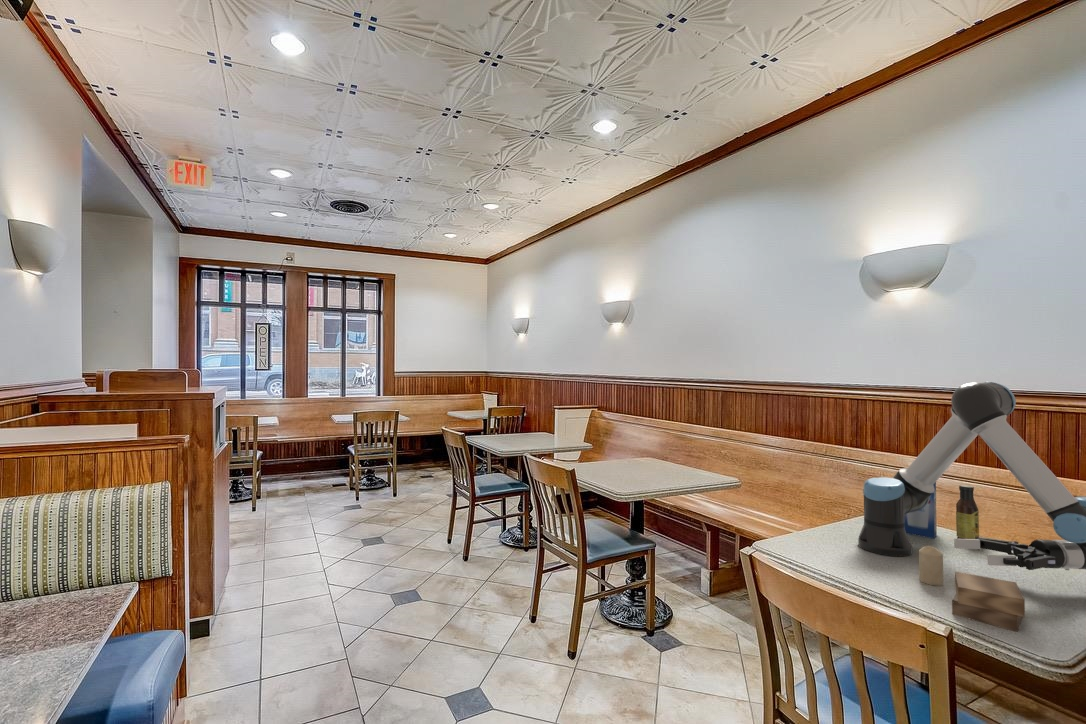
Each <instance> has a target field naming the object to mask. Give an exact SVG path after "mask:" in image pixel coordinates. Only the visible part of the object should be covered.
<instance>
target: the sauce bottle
mask: <svg viewBox="0 0 1086 724" xmlns="http://www.w3.org/2000/svg"><path fill="white" fill-rule="evenodd" d="M958 490H959V499H958V500H957V502H956V504H955V506H956V507H955V509H956V510H955V520H956V521H955V522H956V523H955V524H956V528H955V529H956V539H975V537H980V516H979V515H980V514H979V513H980V512H979V508H978V506H977V503H976V501H975V499H974V491H975V487H974V486H972V485H966V484H959V486H958Z"/></svg>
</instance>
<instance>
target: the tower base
mask: <svg viewBox="0 0 1086 724" xmlns="http://www.w3.org/2000/svg"><path fill="white" fill-rule="evenodd" d="M951 604H952V605H951V611H952V613H951V614H952V615H955V616H958V617H962V618H965V619H968V618H970V619H969V620H972V619H973V620H972V621H976V622H981V623H983V624H987V625H990V626H994V627H998V628H1001V629H1004V630H1008V631H1012V632H1015V633H1018V631H1019V629H1020V626H1021V623H1022V620H1023V617H1022V616H1018V615H1013V614H1008V613H1003V612H998V611H994V610H989V609H984V608H979V607H975V606H970V605H965V604H960V603H958V598H957V594H956V593H955V595H954V596H953V598H952V599H951Z"/></svg>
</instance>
